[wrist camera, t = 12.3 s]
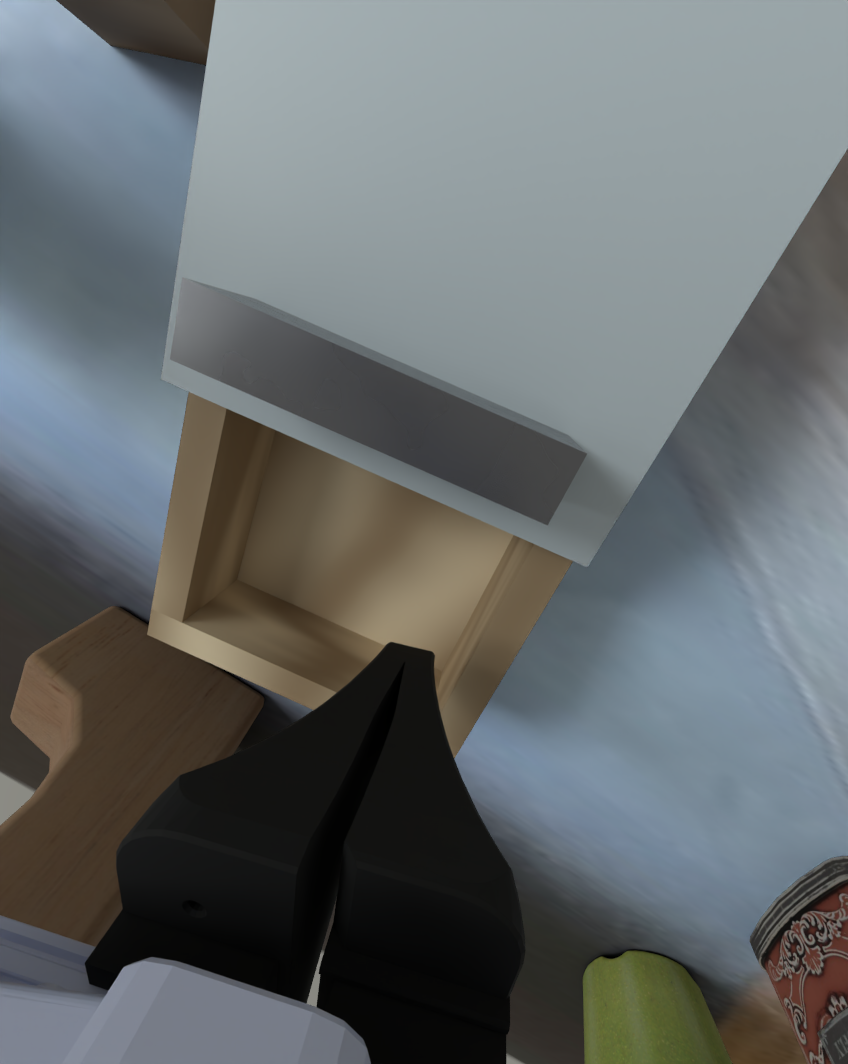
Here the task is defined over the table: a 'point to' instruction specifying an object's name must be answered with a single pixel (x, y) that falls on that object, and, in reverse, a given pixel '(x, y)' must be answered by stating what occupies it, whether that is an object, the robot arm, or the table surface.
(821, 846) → the table surface
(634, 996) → the plant pot
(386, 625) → the brown piece
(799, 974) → the lighter
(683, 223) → the toolbox lid
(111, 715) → the wooden block
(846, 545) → the table surface
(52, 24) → the table surface
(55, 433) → the table surface
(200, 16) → the small brown block
